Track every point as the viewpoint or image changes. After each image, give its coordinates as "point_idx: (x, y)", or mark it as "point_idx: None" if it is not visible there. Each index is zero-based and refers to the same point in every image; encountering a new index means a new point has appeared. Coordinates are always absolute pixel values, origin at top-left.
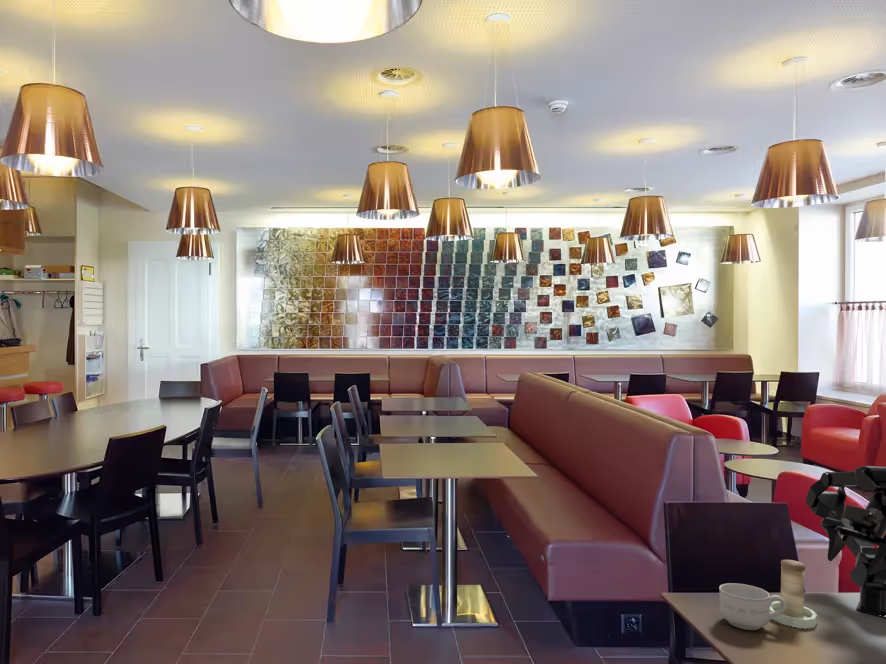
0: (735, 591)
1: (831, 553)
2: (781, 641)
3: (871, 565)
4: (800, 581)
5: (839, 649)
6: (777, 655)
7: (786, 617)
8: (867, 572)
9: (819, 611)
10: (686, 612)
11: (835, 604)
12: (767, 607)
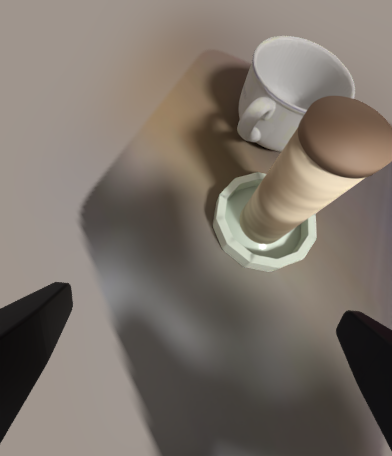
0: None
1: (384, 342)
2: (203, 125)
3: (11, 312)
4: (279, 158)
5: (134, 176)
6: (178, 85)
7: (246, 175)
8: (67, 283)
9: (266, 332)
10: None
11: (287, 450)
12: (248, 89)
